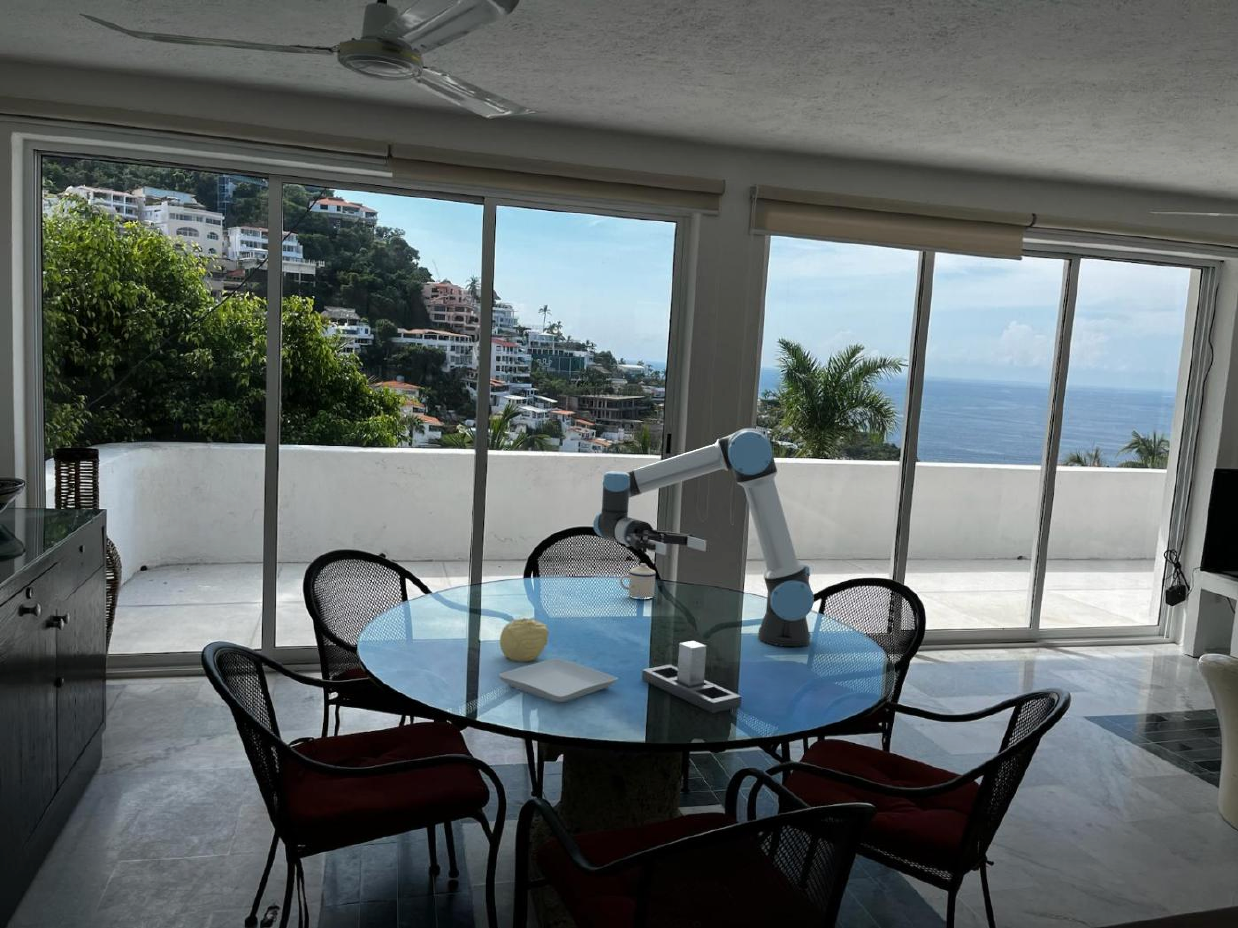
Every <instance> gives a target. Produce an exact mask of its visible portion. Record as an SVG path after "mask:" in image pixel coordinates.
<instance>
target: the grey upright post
mask: <svg viewBox="0 0 1238 928" xmlns="http://www.w3.org/2000/svg"><path fill="white" fill-rule="evenodd" d="M678 646H679V647H678V659H677V661H678V662H677V668H678V672H677V683H678V684H681V685H683V686H685V687H687V688H694V687H699V686H703V685H704V680H705V673H706V671H705V670H706V669H705V668H706V657H707V656H706V655H707V645H705V644H704V643H700V642H698V641H696V640H691V641H684V642H680V643H678Z"/></svg>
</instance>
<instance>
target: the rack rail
mask: <svg viewBox="0 0 1238 928" xmlns="http://www.w3.org/2000/svg"><path fill="white" fill-rule="evenodd" d="M641 672H642V674H641V680H642V681H645V682H647V683H648V684H651V685H653V686H655V687H657V688H659V689H661V690H664V691H665V692H667V693H669V694H671V695H673V696H676V697H678V698H680V699H682V700H684V701H687V702H688V703H690V704H692V705H694V706H696V707H697V708H698V707H699V708H700V709H702V710H704V711H707V712H708V713H711V714H715V713H719V711H720V712H723V711H724V712H725V711H727V710H728V711H729V710H732V709H737V708H741V706H742V695H739V694H738V693H735V692H733V691H730V690H729V689H726V688H724V687H721V686H719V685H718V684H715V683H713V682H710V681H708V680H706V679H704V685H703V686H699V687H694V688H687V687H685V686H683V685H681V684H678V683H677V672H678V666H674V665H673V664H665V665H660V666H655V667H650V668H643V669H642V671H641ZM714 697H715V698H714Z"/></svg>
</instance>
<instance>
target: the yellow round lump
mask: <svg viewBox="0 0 1238 928" xmlns="http://www.w3.org/2000/svg"><path fill="white" fill-rule="evenodd" d="M548 636H549V630H548V626H547V625H546V624H545V623H544V622H543V623H542V622H541V621H539V620H535V618H533V617H529V618H526V617H523V618H516V619H514V620H512V621H510V622H509V623H507V624H505V626H504V627H503V629H502V631H501V634H500V637H499V645H500V648H501V652H502V653H503V655H504V656H505V657H506V658H508V659H509V660H511V661H514V662H518V663H519V662H521V663H523V662H533V661H535V660H537V658H539V656H540V655H541V654H542V652H543V651H544V648H545V647H546V645H548V641H549V639H548Z"/></svg>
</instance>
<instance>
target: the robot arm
mask: <svg viewBox="0 0 1238 928" xmlns="http://www.w3.org/2000/svg"><path fill="white" fill-rule="evenodd" d="M775 461H776V460H775V457H774V455H773V448H772V444H771V442H770V440H769V439H768V437H767V436H766V434H764V432H762V431H761V430H759V429H757V428H755V427H754V428H753V427H746V428H742V429H740V430H737V431H735V432H734V433H731V434H729V435H727V436H724V437H721V438H718V439H717V440H716V442H715V443H714V444H711V445H707V446H704V447H701V448H698V449H695V450H692V451H688V452H685V453H682V454H679V455H676V456H672V457H670V458H667V459H663V460H660V461H657V462H654V463H650V464H647V465H644V466H641V467H637V468H634V469H632V470H627V471H615V470H612V471H607V472H605V473H604V475H603V482H602V497H601V498H602V499H601V501H602V503H601V504H602V505H601V506H602V507H601V511H600V512H598V513H597V514H596V516H595V518H594V520H593V525H592V526H593V531H594V532H595V534H596V535H597V536H599V537H602V538H604V539H605V540H608V541H613V542H617V543H620V544H623V545H625V547H627V548H628V547H632V548H634V549H635V550H636V551H640V550H641V552H642V553H647V551H650V552H653V553H655V554H656V553H657V554H660V555H662V556H663V555H664V556H666V555H667V546H668V545H667V544H670V545H680V546H686V547H688V548H691V549H693V550H694V549H695V550H699V551H702V552H706V550H707V549H706V548H707V540H705V539H701V538H697V537H696V534H693V533H692V532H691V533H689V534H687V533H680V532H674V531H668V530H665V529H664V530H662V531H661V530H657V529H654V528H653V527H652V525H651V523H649V522H647V521H643V520H641V519H636V518H633V517H628V514H629V501H630V500H629V499H631V498H632V497H635V496H639V495H642V494H644V493H648V492H651V491H654V490H658V489H661V488H664V487H667V486H671V485H674V484H677V483H681V482H684V481H687V480H690V479H694V478H698V477H700V476H703V475H707V474H709V473H713V472H716V471H719V470H725V471H727V472H728V471H731V470H732V471H733V475H734V479H735V481H736V483H737V485H739V486H741V487H742V488H743V490H744V493H745V495H746V500H747V504H748V507H749V510H750V514H751V517H752V521H753V525H754V527H755V532H756V535H757V538H758V542H759V546H760V549H761V552H762V555H763V560H764V562H765V563H764V564H765V566H766V571H765V572H764V574H763V579H764V583H765V587H766V590H767V596H766V610H765V614H764V615H763V616H764V617H763V619H762V621H761V623H760V627H759V628H758V635H757V637H758V639H759V640H760V641H761V642H763V643H765V642H768V643H771V644H770V645H772V644H777V645H782V646H781V647H783V646H795V647H794V648H799V647H798V646H802V647H806V646H808V645H810V643H811V633H810V630H809V625H808V621H807V616H808V615H809V614H810V612H811V611H812V610H813V606H814V603H815V595H814V592H813V590H812V588H811V585H810V576H811V573H810V569H811V568H810V567H809V566H808V565H806V564H803V563H801V562H799V560H797V556H796V553H795V550H794V544H793V542H792V539H791V535H790V531H789V527H788V524H787V520H786V517H785V513H784V511H783V510H784V509H783V507H782V503H781V500H780V496H779V492H778V488H777V485H776V482H775V477H776V475H777V473H778V469H777V465H776V462H775ZM768 643H767V644H768ZM807 644H808V645H807ZM777 645H776V646H777ZM805 645H806V646H805ZM796 646H797V647H796Z"/></svg>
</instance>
